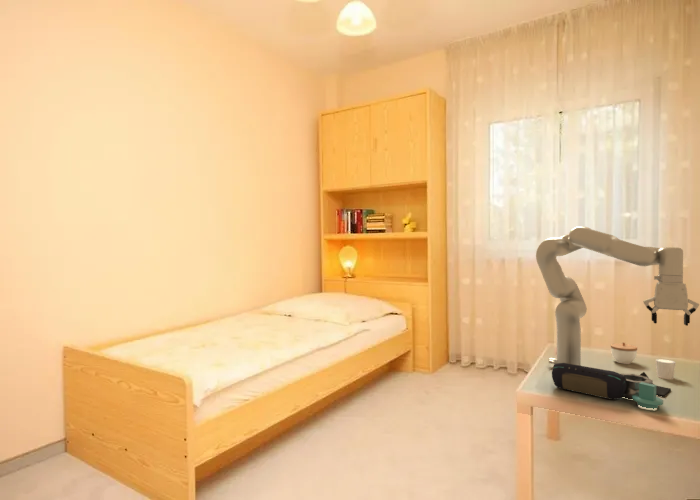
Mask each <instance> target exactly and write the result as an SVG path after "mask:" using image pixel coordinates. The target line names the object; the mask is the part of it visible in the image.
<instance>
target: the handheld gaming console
mask: <svg viewBox="0 0 700 500" xmlns="http://www.w3.org/2000/svg"><path fill="white" fill-rule="evenodd" d="M639 375H640V376H645V377H647V378H649V376H648V375H647V373H646V372H644V371H643V372H641V373H640V374H639ZM653 385H655V384H654V383H653ZM669 393H671V388H669V387H665V386H661V385H660V386H659V385H656V395H658V396H657V397H660V396H662V397H661V398H665V397H666V396H667V395H668V394H669Z"/></svg>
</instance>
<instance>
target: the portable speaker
mask: <svg viewBox="0 0 700 500" xmlns="http://www.w3.org/2000/svg"><path fill="white" fill-rule="evenodd" d="M622 374H623V373H619V372H617V371H614V370H613V371H612V370H607V369H602V368H595V367H591V366H590V367H589V366H585V365H584V366H583V365H581V366H579V365H573V364H567V363H557V364H553V366H552V370H551V378H552V381H553V383H554V385H555V386H556V387H557V388H558V389H561V388H562V389H561V390H566V389H568V390H567V391H570V390H573V391H572V392H575V391H577V392H576V393H580V392H582V393H581V394H585V393H587V394H586V395H590V394H592V395H591V396H594V395H596V396H595V397H599V396H601V397H600V398H604V397H606V399H609V398H610V399H611V400H620V399H623V398H622V396H623V395H624V393H625V392H626V386H627V384H626V378H625V376H623V375H622Z"/></svg>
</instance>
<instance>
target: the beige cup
mask: <svg viewBox="0 0 700 500" xmlns="http://www.w3.org/2000/svg"><path fill="white" fill-rule="evenodd" d="M655 368H656V369H655V370H656V377H657V378H660V379H663V380H674V377H675V371H676V370H675V368H676V361H674V360H671V359H665V358H656V359H655Z"/></svg>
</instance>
